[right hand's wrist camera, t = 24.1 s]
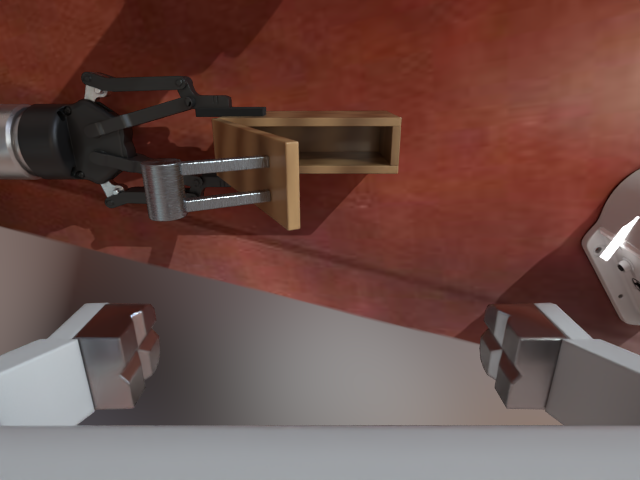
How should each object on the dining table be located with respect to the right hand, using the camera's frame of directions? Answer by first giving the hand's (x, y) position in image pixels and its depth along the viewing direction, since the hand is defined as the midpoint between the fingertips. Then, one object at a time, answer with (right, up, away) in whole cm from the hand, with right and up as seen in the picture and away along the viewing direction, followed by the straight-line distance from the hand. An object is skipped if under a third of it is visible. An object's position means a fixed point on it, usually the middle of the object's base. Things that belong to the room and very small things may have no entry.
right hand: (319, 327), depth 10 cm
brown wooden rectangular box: (-1, +14, +38) cm, 41 cm away
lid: (-5, +8, +22) cm, 24 cm away
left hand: (-6, +12, +32) cm, 35 cm away
